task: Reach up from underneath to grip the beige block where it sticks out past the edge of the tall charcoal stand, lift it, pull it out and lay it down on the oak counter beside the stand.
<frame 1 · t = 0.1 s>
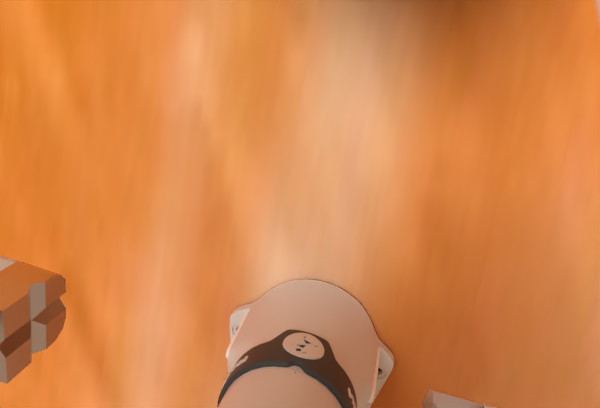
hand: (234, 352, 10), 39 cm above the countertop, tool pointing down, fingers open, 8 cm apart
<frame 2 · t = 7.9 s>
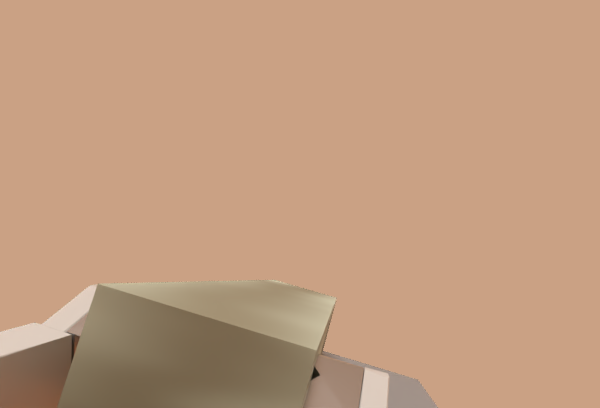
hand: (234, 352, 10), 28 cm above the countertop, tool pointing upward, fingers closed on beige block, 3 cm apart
beige block: (258, 382, 16), point 26 cm above the countertop, touching gripper, tall stand
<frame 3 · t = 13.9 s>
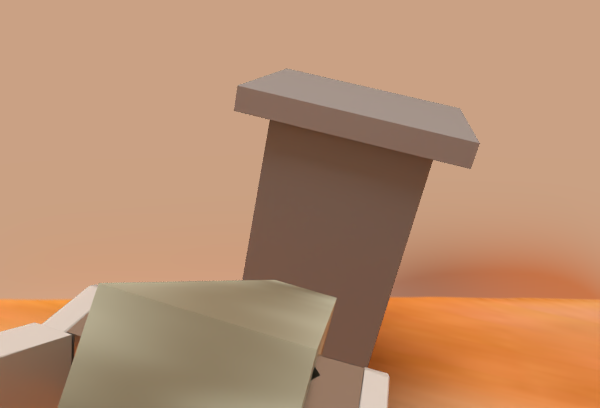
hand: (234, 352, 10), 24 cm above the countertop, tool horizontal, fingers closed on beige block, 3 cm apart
beige block: (259, 381, 16), point 19 cm above the countertop, tilted 30°, touching gripper
tall stand: (293, 389, 42), on the countertop
when the fingers open (11 cm above the countertop, at t = 17.4 s): beige block drops 7 cm, on the countertop.
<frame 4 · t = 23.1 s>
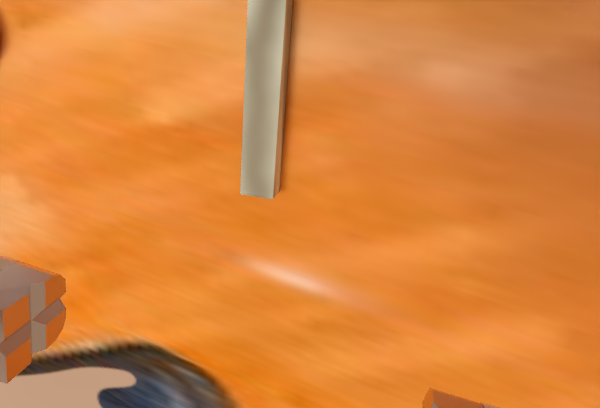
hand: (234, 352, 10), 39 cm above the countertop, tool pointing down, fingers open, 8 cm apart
beige block: (269, 99, 49), on the countertop
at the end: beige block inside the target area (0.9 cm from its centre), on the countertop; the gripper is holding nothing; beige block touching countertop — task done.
